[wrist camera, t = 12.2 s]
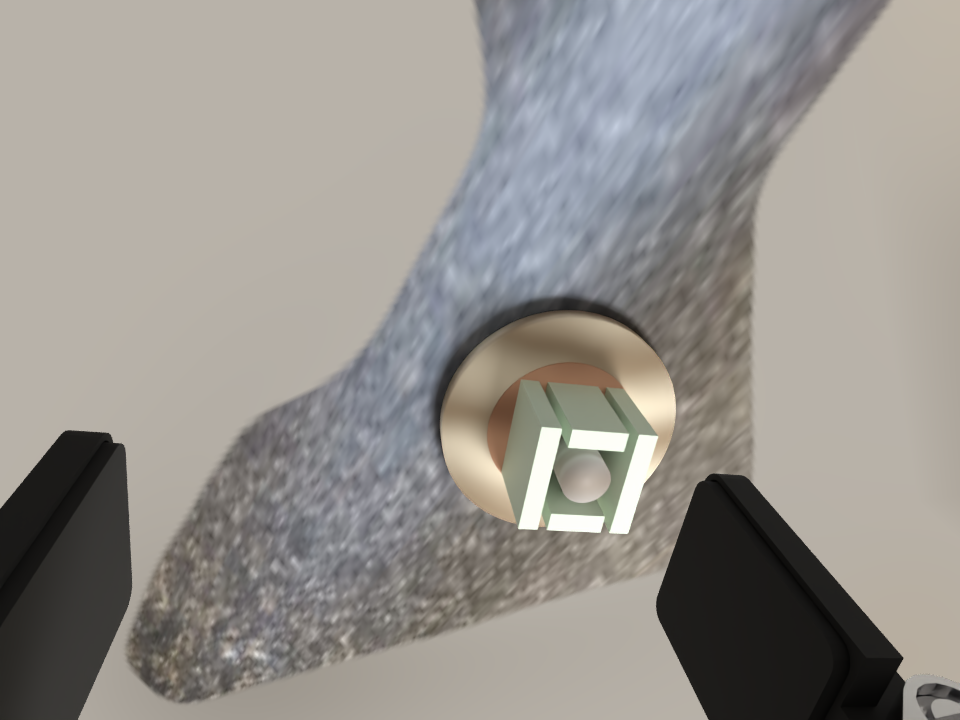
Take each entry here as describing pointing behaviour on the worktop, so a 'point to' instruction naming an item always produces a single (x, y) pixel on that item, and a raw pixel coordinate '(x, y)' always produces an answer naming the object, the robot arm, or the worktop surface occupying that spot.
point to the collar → (583, 426)
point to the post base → (545, 358)
